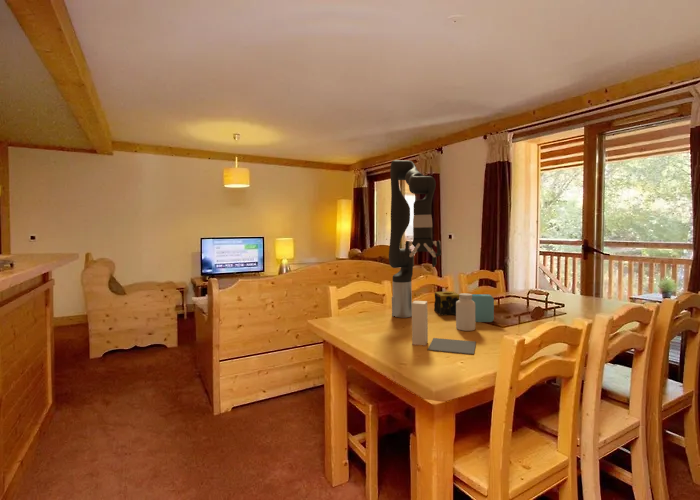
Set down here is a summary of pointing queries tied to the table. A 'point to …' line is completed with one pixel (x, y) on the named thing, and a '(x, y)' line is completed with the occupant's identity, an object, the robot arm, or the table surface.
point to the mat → (452, 346)
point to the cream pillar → (419, 323)
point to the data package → (483, 307)
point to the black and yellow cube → (446, 302)
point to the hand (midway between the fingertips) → (423, 266)
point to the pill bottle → (465, 312)
